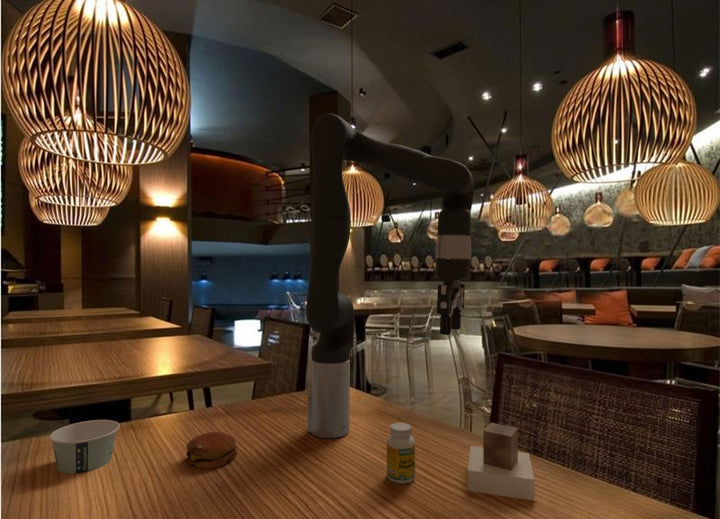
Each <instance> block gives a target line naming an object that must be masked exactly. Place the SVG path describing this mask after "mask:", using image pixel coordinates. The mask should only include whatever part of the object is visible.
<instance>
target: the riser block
mask: <svg viewBox="0 0 720 519" xmlns="http://www.w3.org/2000/svg"><path fill="white" fill-rule="evenodd" d="M467 491H468V492H474V493H479V494H480V493H481V494H487V495H492V496H498V497H499V496H500V497H508V498H512V499H513V498H514V499H520V500H521V499H522V500H526V501H527V500H528V501H531V502H532V501H533V502H535V477H534V472H533V467H532V462H531V458H530V452H520V451H518V460H517V462H516V464H515V465H514V467H513V469H512V470H507V469H503V468H499V467H495V466H491V465H487V464H483V446H481V447H480V446H472V445H471V446H470V450H469V458H468V467H467Z"/></svg>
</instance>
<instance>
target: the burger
mask: <svg viewBox="0 0 720 519" xmlns="http://www.w3.org/2000/svg"><path fill="white" fill-rule="evenodd" d="M237 449H238V447H237V442H236V439H235V438H234V437H233V436H232V435H230V434H229V433H226V432H223V431H209V432H206V433H205V432H204V433H203V434H200V435H197V436H195V437H193V438H192V439H190V440H189V441H188V443H187V444H186V450H187V451H186V454H185V455H186V458H185V461H187V462H188V463H189V464H190V465H194V467H195V468H196V469H199V470H211V469H216V468H219V467H222V466H224V465H226V464H227V463H228V462H230V461H232V460H233V459H234V458H236V456H237V455H238V451H237Z"/></svg>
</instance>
